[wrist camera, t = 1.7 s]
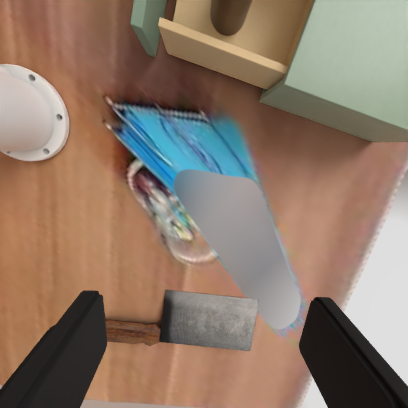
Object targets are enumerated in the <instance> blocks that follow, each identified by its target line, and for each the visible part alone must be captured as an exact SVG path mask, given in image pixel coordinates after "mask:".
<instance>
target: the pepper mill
mask: <svg viewBox="0 0 408 408" xmlns="http://www.w3.org/2000/svg"><path fill="white" fill-rule="evenodd" d="M251 3H252V0H211V10H210V17H211V22H212V25H213V27H214V28H215V29H216V31H217V32H219V33H220V34H222V35H226V36H230V35H233V34H235V33H237V32H238V31H239V30H240V29H241V28H242V26H243V24H244V21H245V19H246V16H247V13H248V11H249V8H250V6H251Z"/></svg>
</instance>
